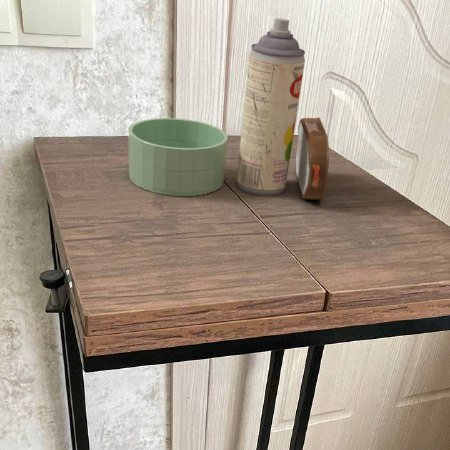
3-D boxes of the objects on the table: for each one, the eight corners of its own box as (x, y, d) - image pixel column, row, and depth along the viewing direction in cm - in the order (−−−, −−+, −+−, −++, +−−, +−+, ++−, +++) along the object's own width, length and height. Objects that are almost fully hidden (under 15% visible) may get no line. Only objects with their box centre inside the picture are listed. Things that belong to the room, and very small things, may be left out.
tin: (323, 210, 82) (336, 144, 77) (299, 208, 82) (311, 142, 76) (310, 170, 94) (320, 110, 88) (289, 168, 93) (298, 108, 88)
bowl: (224, 166, 92) (228, 123, 88) (222, 200, 81) (226, 153, 78) (135, 157, 91) (135, 114, 87) (122, 190, 81) (121, 143, 77)
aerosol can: (284, 198, 84) (311, 27, 71) (234, 192, 84) (251, 20, 71) (285, 180, 89) (310, 18, 77) (238, 174, 89) (254, 12, 77)
